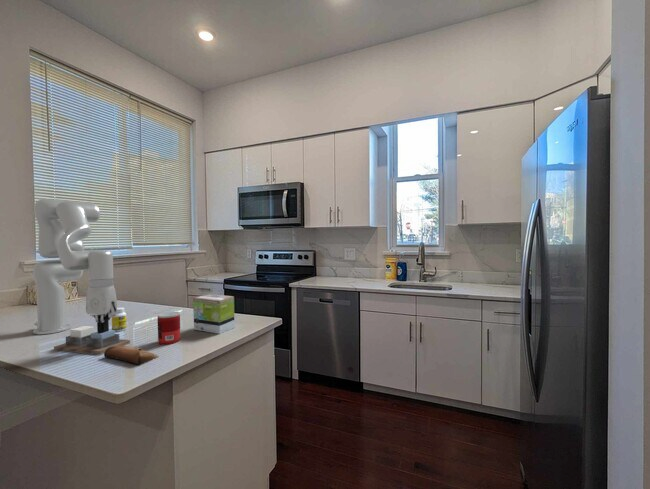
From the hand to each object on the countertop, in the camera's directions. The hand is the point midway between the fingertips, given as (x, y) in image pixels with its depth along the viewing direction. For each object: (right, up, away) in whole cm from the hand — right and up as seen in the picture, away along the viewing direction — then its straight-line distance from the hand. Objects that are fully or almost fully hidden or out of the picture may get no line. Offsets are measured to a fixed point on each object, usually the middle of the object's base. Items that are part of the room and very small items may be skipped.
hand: (103, 331), depth 114 cm
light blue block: (0, -3, 0) cm, 4 cm away
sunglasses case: (+17, -7, -10) cm, 21 cm away
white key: (-10, -3, +3) cm, 11 cm away
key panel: (-5, -6, +1) cm, 8 cm away
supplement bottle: (-9, -6, +22) cm, 25 cm away
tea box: (+34, -5, +21) cm, 41 cm away
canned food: (+22, -6, +6) cm, 23 cm away
